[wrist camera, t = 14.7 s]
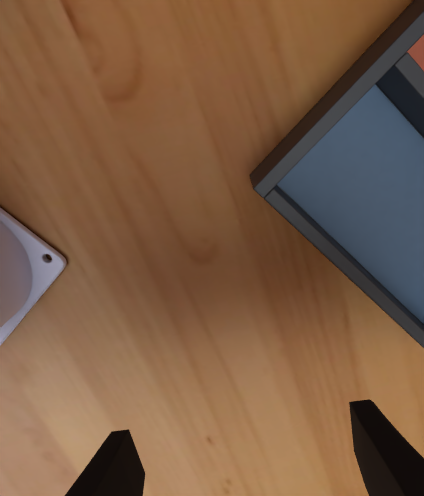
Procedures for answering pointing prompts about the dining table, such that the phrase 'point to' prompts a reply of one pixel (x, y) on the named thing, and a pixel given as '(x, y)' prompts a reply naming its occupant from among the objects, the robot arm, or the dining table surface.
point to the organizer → (364, 173)
